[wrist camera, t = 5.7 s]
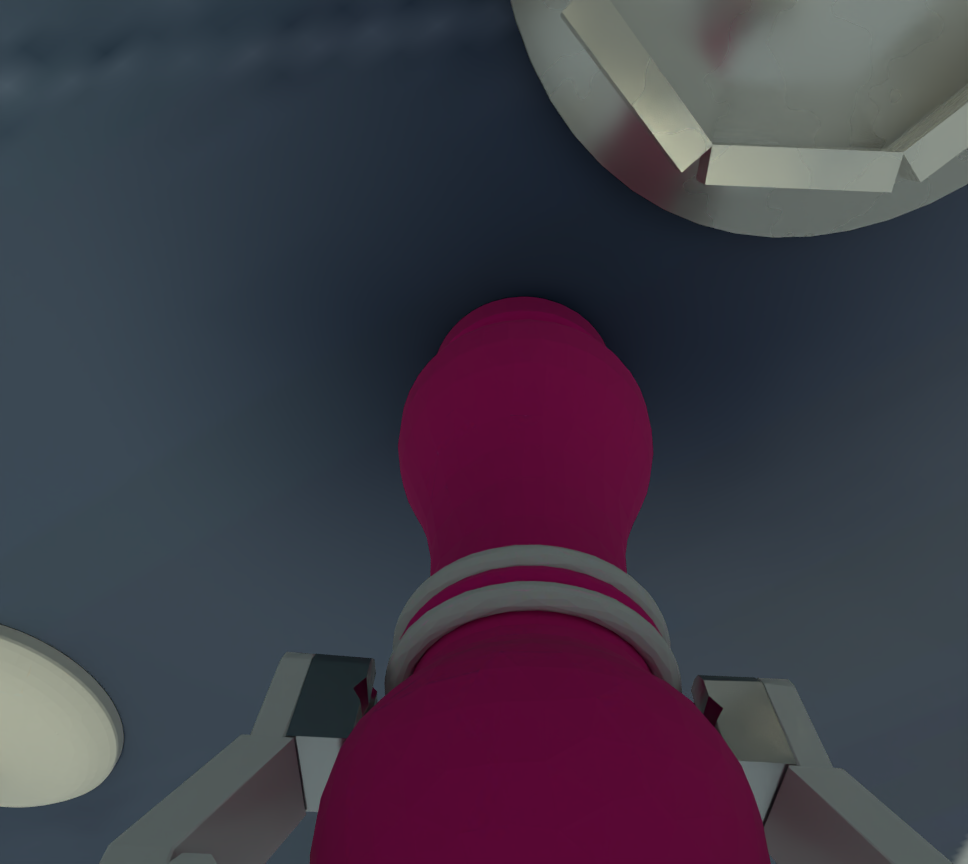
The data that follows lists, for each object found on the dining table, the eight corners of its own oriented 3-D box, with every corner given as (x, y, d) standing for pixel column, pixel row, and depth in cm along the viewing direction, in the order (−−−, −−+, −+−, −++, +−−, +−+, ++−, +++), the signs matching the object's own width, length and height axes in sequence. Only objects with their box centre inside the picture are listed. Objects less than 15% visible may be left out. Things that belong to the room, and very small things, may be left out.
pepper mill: (528, 232, 20) (620, 1170, 3) (669, 386, 23) (1209, 1441, 5) (376, 379, 23) (-70, 1350, 5) (517, 504, 25) (526, 1476, 8)
